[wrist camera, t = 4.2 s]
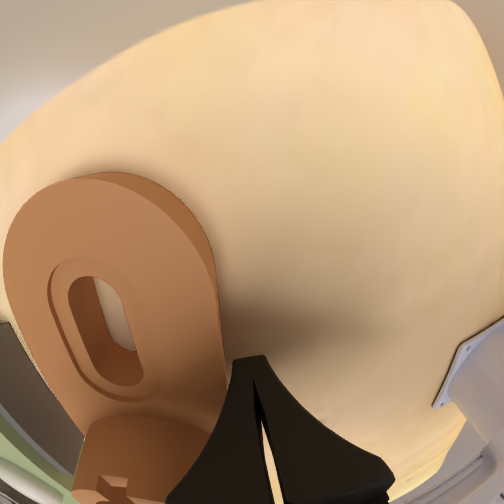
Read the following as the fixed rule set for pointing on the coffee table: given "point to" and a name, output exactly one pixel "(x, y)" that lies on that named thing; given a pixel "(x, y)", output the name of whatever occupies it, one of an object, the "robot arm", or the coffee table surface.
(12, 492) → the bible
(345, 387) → the coffee table surface
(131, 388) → the bracket
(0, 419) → the green box with button
